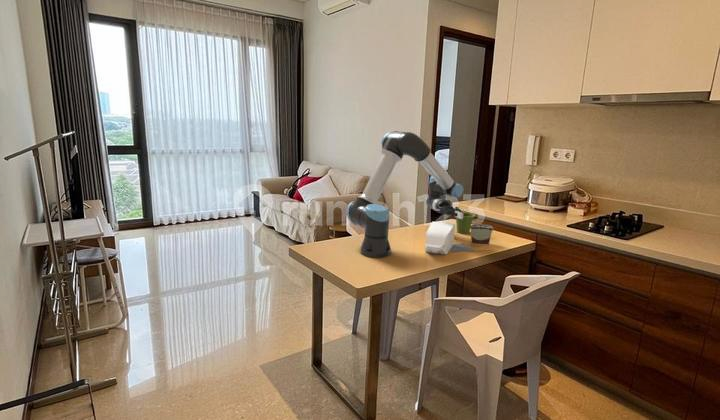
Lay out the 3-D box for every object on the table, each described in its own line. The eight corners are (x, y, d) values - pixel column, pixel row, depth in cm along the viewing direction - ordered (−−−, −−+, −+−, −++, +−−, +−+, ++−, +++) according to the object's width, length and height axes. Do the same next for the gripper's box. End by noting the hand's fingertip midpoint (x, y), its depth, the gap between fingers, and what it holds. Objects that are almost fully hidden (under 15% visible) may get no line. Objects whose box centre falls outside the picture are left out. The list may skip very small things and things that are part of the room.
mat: (446, 252, 194) (446, 251, 194) (436, 245, 205) (436, 244, 205) (474, 250, 198) (474, 250, 198) (463, 243, 209) (463, 243, 209)
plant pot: (449, 230, 236) (451, 212, 233) (466, 229, 239) (468, 211, 236) (458, 235, 224) (460, 216, 222) (476, 234, 227) (478, 216, 225)
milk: (454, 223, 203) (446, 238, 180) (453, 244, 206) (444, 261, 183) (432, 221, 208) (421, 235, 185) (431, 241, 211) (420, 257, 187)
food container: (489, 241, 215) (490, 224, 213) (491, 244, 209) (493, 227, 207) (466, 240, 216) (468, 223, 214) (468, 243, 210) (470, 225, 208)
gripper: (451, 212, 219) (472, 223, 196) (430, 213, 216) (449, 223, 193) (452, 199, 217) (474, 208, 195) (431, 200, 214) (450, 209, 192)
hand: (461, 216), depth 194 cm, fingers closed
